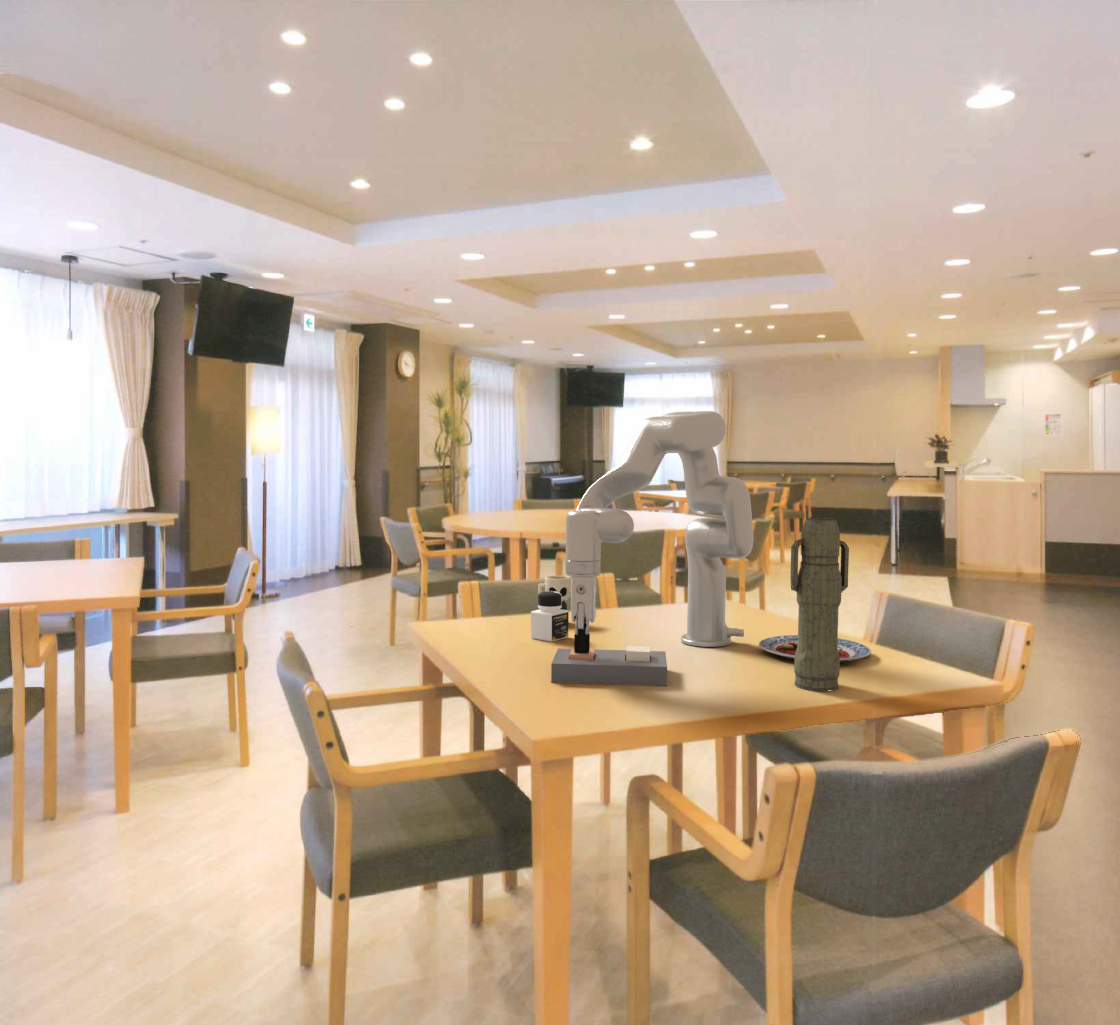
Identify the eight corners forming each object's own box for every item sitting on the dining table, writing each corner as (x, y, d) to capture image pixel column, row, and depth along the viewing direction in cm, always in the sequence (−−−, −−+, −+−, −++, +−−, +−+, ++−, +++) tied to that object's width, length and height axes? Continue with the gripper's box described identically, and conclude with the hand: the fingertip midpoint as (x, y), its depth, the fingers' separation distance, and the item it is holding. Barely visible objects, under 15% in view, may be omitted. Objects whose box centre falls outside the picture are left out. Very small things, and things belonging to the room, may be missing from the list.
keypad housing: (665, 669, 192) (665, 651, 192) (666, 685, 178) (667, 666, 178) (557, 665, 194) (557, 648, 194) (551, 682, 180) (551, 663, 180)
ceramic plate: (806, 673, 191) (806, 659, 190) (737, 648, 214) (737, 636, 214) (895, 662, 201) (895, 649, 201) (820, 640, 224) (820, 628, 224)
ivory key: (649, 660, 188) (649, 646, 188) (649, 665, 183) (650, 651, 183) (626, 659, 188) (626, 645, 188) (626, 665, 183) (626, 651, 183)
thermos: (854, 689, 176) (859, 519, 174) (802, 693, 173) (806, 519, 171) (830, 678, 185) (835, 515, 183) (780, 681, 182) (784, 516, 180)
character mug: (538, 625, 240) (538, 579, 239) (537, 620, 247) (537, 575, 246) (577, 625, 240) (577, 579, 239) (575, 620, 247) (575, 575, 246)
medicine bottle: (552, 642, 219) (552, 595, 218) (530, 638, 223) (530, 592, 222) (568, 637, 224) (569, 591, 224) (547, 633, 229) (547, 589, 228)
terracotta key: (594, 663, 189) (594, 649, 189) (593, 669, 184) (593, 655, 184) (571, 662, 189) (571, 649, 189) (569, 668, 184) (569, 654, 184)
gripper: (598, 573, 177) (597, 661, 179) (602, 564, 192) (600, 645, 193) (562, 572, 178) (561, 659, 179) (568, 563, 193) (567, 644, 194)
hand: (581, 652), depth 186 cm, fingers closed
